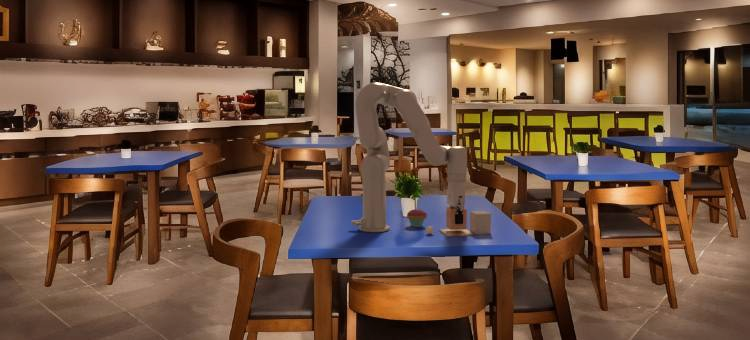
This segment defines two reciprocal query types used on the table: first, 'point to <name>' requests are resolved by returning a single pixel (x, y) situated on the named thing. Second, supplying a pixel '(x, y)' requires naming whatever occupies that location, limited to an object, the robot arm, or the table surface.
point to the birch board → (456, 232)
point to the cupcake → (416, 217)
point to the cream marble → (429, 230)
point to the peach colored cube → (451, 219)
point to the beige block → (480, 222)
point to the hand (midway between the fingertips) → (456, 221)
